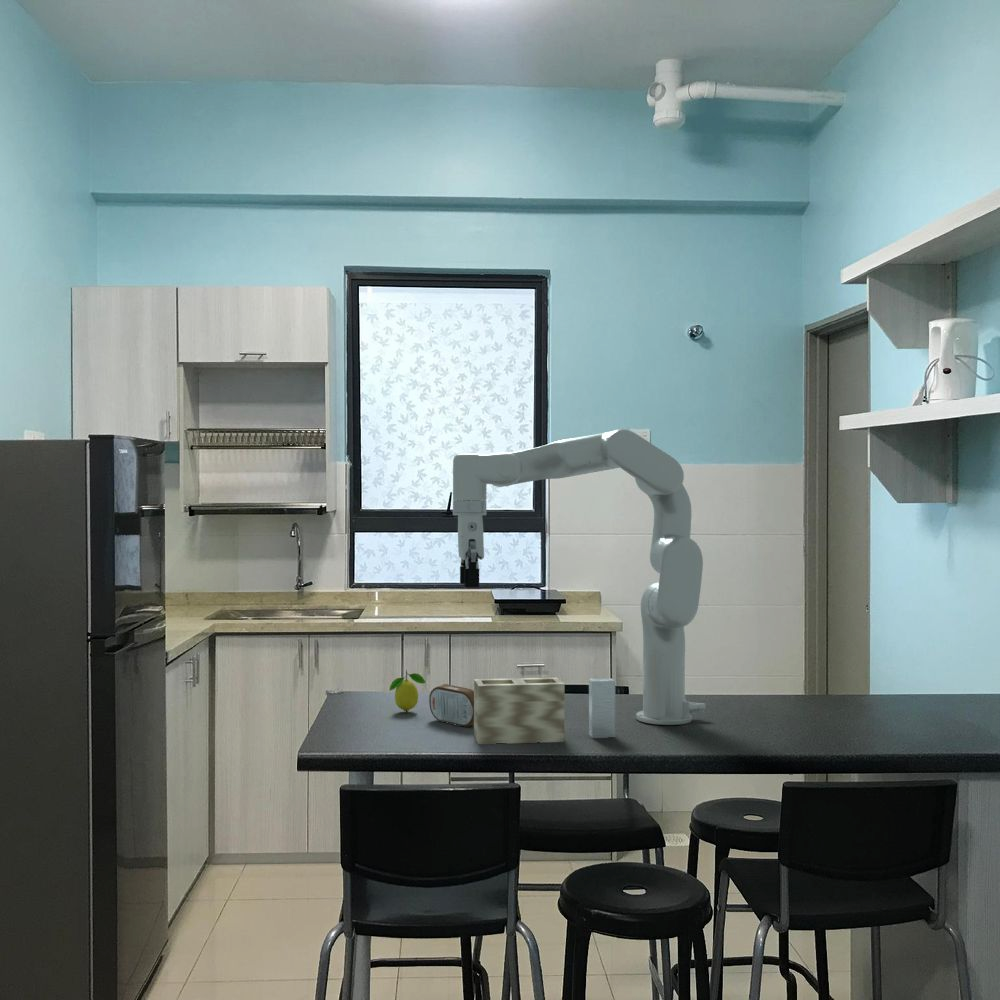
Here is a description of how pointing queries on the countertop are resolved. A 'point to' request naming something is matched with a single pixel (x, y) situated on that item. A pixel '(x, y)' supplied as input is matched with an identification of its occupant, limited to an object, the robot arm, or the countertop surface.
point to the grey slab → (601, 708)
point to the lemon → (406, 691)
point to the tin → (452, 704)
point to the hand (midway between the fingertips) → (469, 585)
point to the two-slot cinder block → (518, 710)
